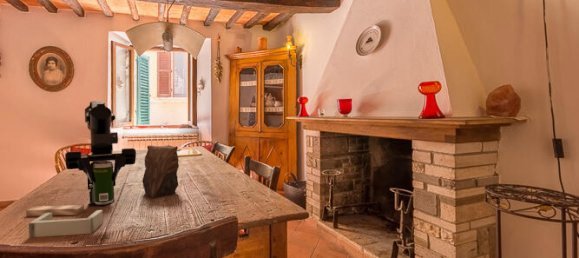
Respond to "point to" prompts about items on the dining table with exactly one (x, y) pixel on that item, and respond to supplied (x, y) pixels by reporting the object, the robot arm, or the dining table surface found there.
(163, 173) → the brown paper bag
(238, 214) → the dining table surface
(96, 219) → the beige u-shaped bracket
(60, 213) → the slat
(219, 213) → the dining table surface
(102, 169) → the guarana soda can
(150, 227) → the dining table surface
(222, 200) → the dining table surface
